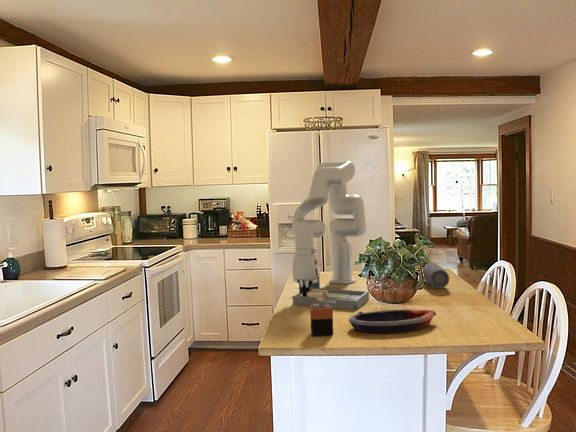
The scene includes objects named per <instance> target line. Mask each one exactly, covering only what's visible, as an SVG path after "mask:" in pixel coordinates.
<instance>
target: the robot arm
mask: <svg viewBox="0 0 576 432" xmlns="http://www.w3.org/2000/svg"><path fill="white" fill-rule="evenodd" d="M355 173H356V167H355V164H354V163H353V162H352V161H350V160H333V161H330V160H329V161H323V162H321V163H319V164H318V166H317V168H316V169H315V170H314V172H313V176H312V181H311V183H310V184H311V185H310V188H309V194H308V196H307V198H306V199H304V200H303V201H302V202H301V203H300V205H299V206H298V207H297V208H296V209H295V211H294V214H293V219H292V222H291V234H292V235H293V236H294V243H295V244H294V245H295V247H294V248H295V249H294V250H295V254H294V256H293V260H292V278H293V279H292V280H293V282H295V283H298V285H299V284H300V286H301V287H302V294H303V296H306V297H307V292H309V291H310V286H311V285H312V284H313V283H317V282H318V279H317V278H318V277H319V278H320V272H319V263H318V259H317V255H316V254H317V253H318V250H317V249H315V246H314V238H315V239H317V238H321V237H323V236H324V234H325V233H326V230H327V227H326V224H325V223H324V221H323V220H320V219H304V218H305V217H306V216H307V215H308V214H309V213H311V212H312V211H314V210H317V209H318V208H321V207H322V206H326V204H327V203H328V201H329V206H330V211H331V213H332V214H334V215H338V216H335V217H333V218H331V219H330V221H329V224H328V228H329V233H330V234H329V235H330V240H331V261H332V262H331V265H332V269H331V270H332V277H331V278H329V282H330V283H332V284H338V285H345V284H346V285H347V284H352V283H355V282H356V278H355V277H353V257H352V255H353V254H352V249H353V248H352V244H351V242H350V239H348V238H352V237H353V238H360V237H363V236H364V235H366V229H367V228H366V227H367V226H366V215H365V214H366V213H365V204H364V200H363V198H362V196H360V195H358V194H348V191H347V190H348V189H347V184H348V182H349V181H351V180H353V178H354V176H355ZM342 215H343V216H342ZM305 280H306V284H305ZM302 294H301V295H302Z"/></svg>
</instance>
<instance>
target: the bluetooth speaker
mask: <svg viewBox="0 0 576 432" xmlns="http://www.w3.org/2000/svg"><path fill="white" fill-rule="evenodd" d="M423 274H424V278H423V280H424V281H425V282H426V283H428V285H429V286H430V287H431V288H433V289H443V288H446V287H447V286H448V284H449V283H450V276H449V274H448V272H447V271H446V270H445V269H444V268H443V267H442V266H440V265H439V264H437V263H435V262H434V261H430V263H429V264H428V265H427V266H425V267H424V268H423Z"/></svg>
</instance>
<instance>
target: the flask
mask: <svg viewBox="0 0 576 432" xmlns="http://www.w3.org/2000/svg"><path fill="white" fill-rule="evenodd" d="M317 279H318V282H317V283H313V284H312V285H311V286H310V287H311V288H321V286H320V276H319V277H318V278H317ZM305 284H306V280H305ZM298 289H299V294H300V295H302V287H301V286H300V284H299V283H298Z"/></svg>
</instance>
